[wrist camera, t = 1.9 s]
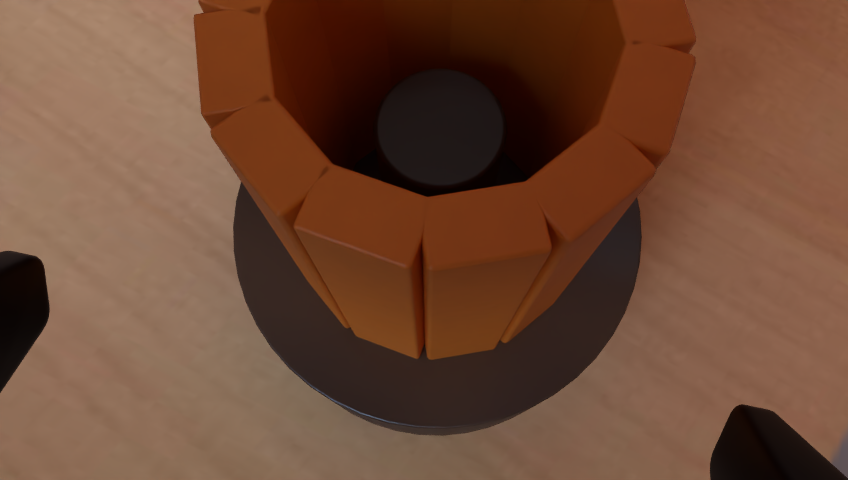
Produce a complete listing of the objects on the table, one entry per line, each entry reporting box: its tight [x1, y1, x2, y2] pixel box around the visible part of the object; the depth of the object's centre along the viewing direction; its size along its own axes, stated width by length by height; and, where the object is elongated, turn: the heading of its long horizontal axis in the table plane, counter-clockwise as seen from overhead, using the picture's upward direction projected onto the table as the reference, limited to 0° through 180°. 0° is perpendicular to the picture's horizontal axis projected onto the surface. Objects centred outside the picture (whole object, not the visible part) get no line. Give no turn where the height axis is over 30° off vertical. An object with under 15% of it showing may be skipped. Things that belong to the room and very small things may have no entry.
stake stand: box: [233, 68, 642, 435], centre depth 17 cm, size 10×10×9 cm
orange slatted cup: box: [194, 0, 696, 360], centre depth 14 cm, size 7×7×8 cm
